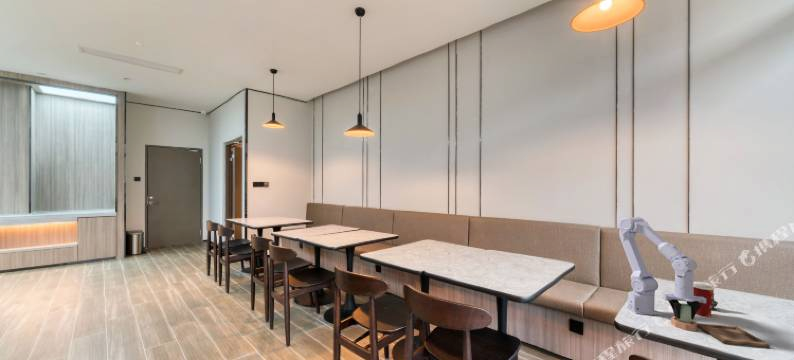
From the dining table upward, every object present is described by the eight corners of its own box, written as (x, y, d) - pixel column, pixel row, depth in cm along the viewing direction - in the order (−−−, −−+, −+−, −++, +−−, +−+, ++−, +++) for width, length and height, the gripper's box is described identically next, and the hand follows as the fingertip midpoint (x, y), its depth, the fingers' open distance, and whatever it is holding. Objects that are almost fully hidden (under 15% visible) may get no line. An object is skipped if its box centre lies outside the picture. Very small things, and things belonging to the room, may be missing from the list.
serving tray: (723, 343, 115) (723, 340, 115) (696, 326, 129) (696, 322, 129) (769, 348, 112) (769, 344, 112) (736, 329, 126) (736, 326, 126)
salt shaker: (697, 306, 149) (697, 281, 149) (708, 305, 149) (708, 281, 149) (710, 311, 143) (710, 286, 143) (721, 311, 143) (721, 285, 143)
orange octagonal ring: (679, 329, 126) (679, 323, 126) (667, 321, 133) (667, 315, 133) (701, 331, 124) (701, 325, 124) (688, 322, 132) (688, 317, 132)
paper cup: (719, 318, 135) (719, 287, 135) (698, 317, 137) (698, 286, 137) (705, 311, 143) (705, 281, 143) (686, 309, 145) (686, 280, 145)
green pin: (681, 328, 127) (681, 306, 127) (674, 323, 131) (674, 302, 131) (693, 329, 126) (694, 307, 126) (686, 324, 131) (686, 303, 130)
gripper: (670, 288, 126) (670, 320, 126) (712, 290, 123) (712, 324, 123) (659, 282, 133) (659, 313, 133) (699, 284, 130) (698, 316, 130)
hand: (684, 318), depth 129 cm, fingers closed on green pin, 4 cm apart
